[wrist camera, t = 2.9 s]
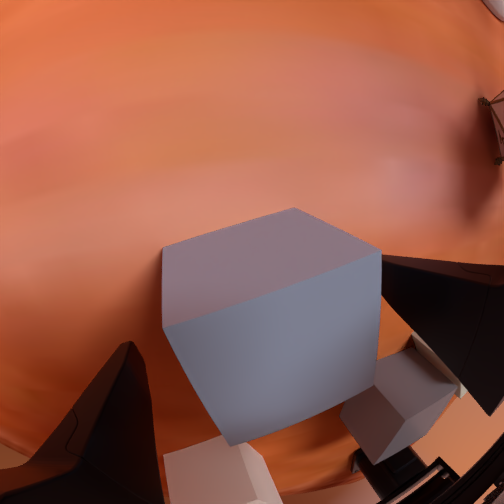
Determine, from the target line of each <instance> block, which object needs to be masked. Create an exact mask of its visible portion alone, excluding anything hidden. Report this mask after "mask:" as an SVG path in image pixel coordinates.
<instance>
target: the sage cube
mask: <svg viewBox="0 0 504 504" xmlns="http://www.w3.org/2000/svg"><path fill="white" fill-rule="evenodd" d="M411 335H412V338H413V340H414V343H415V346H416V349H417V351H418V352H419V353H420V354H421V355H422V356H424V357H425V358H426V359H427V360H428V361H429V362H430V363H432V364H433V365H434V366H435V367H436V368H437V369H438V370H439V371H441V372H442V373H443V374H444V375H445V376H446V377H447V378H448V379H450V380H451V381H452V382H453V383H454V384H455V385H456V386H457V387H458V388H457V390H456V391H455V393H454V394H455V395H456V396H457V397H459V398H460V399H461V398H462V397H463V396H464V394H465V393H466V392H467V389H466V388H465V387H464V386H463V385H462V384H461V382H460V381H459V379H457V378H456V376H455V375H454V374H453V373H452V372H451V371H450V370H449V368H448V367H447V366H446V365H445V364H444V363H443V362H442V361H441V359H440V358H439V357H438V356H437V355H436V354H435V353H434V352H433V351H432V350H431V348H430V347H429V346H428V345H427V344H426V343H425V342H424V341H423V340H422V339H421V338H420V337H419V336H418V335H417V333H416V332H415V331H414V332H413V333H412V334H411Z"/></svg>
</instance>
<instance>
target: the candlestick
mask: <svg viewBox="0 0 504 504" xmlns="http://www.w3.org/2000/svg"><path fill="white" fill-rule="evenodd" d="M482 1H483V2H484V3H485V4H486V6H487V7H488V8H489V9H490V10H491V11H492V13H493V14H494V15H495V16H496V17H497V18H499V19H500V20H502V21H504V0H482Z"/></svg>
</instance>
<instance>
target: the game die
mask: <svg viewBox="0 0 504 504" xmlns="http://www.w3.org/2000/svg"><path fill="white" fill-rule="evenodd" d="M479 101H480V102H481V103H482V105H485V106H489V108H490V111H491V115H492V119H493V123H494V127H495V131H496V135H497V140H498V145H499V150H500V155H501V157H498V158H497V159H496V161H495V164H494V165H500V164H502V161H504V90H503V91H502V92H501V93H500V94H499V95H497V96H496V97H495V98H494V99H493V100H492V101H491V102H489V101H488V100H487V99H484V97H483V98H479Z"/></svg>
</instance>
